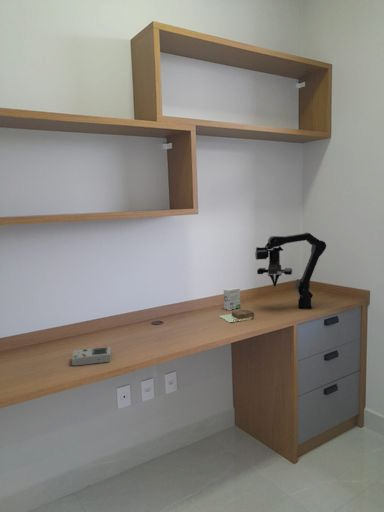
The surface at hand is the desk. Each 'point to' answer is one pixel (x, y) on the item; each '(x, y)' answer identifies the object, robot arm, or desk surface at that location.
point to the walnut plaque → (242, 314)
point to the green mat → (228, 317)
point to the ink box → (231, 298)
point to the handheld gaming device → (91, 356)
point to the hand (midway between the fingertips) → (274, 286)
